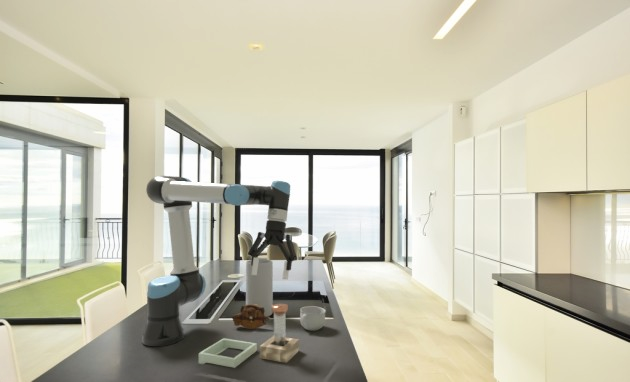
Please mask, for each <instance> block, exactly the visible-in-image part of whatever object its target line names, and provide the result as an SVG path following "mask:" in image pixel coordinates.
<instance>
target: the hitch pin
mask: <svg viewBox="0 0 630 382" xmlns="http://www.w3.org/2000/svg"><path fill="white" fill-rule="evenodd" d="M288 308H289V306H288V304H287V303H274V304H273V305H272V312H273V336H274V345H277V346H284V345H286V338H287V336H286V335H287V334H286V324H287V323H286V313H287V312H288V311H289V309H288Z"/></svg>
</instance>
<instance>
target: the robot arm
mask: <svg viewBox="0 0 630 382" xmlns="http://www.w3.org/2000/svg"><path fill="white" fill-rule="evenodd" d="M145 192H146V195H147V197H148V198H149V199H150V200H151V201H152V202H154V203H156V204H161V205H163V210H164V211H165V212H167V214H168V215H167V217H168V225H169V226H168V227H169V236H170V244H171V245H170V246H171V253H172V254H171V256H172V266H173V267H172V268H173V269H172V270H171V271H170V275H164V276H160V277H156V278H154V279H152V280H151V281H150V282H149V283H148V285H147V292H146V296H147V297H146V298H147V299H146V300H147V304H146V305H147V306H146V308H147V310H146V312H147V313H146V314H147V317H146V318H147V319H146V320H147V321H146V324H145V327H144V330H143V333H142V335H141V336H142V337H141V342H142V344H143V345H145V346H147V347H162V346H168V345H172V344H175V343H178V342H180V341H181V340H183V339H184V337H185V331H184V329H185V328H183V325H182V321H181V319H180V307H182V306H184V305H186V304H188V303H192V302H194V301H196V300H197V299H199V298H200V297H202V295H203V294H204V293H205V291H206V286H207V283H206V282H207V281H206V280H205V277H204V276H203V275H202V273H200V268H199V267H197V266H196V265H195V257H194V256H195V255H194V254H195V253H194V247H193V238H192V237H193V236H192V226H191V218H190V217H191V216H190V215H191V214H190V209H191V208H192V207H193V203H207V204H208V203H209V204H222V205H232V206H239V207H240V206H249V205H250V206H252V205H253V206H255V205H259V206H268V211H267V218H266V219H267V220H266V225H265V232H262V231H258V233H257V236H256V239H255V240H254V241H253V244H252V245H251V247H250V249H249V251H248V253H247V254H248V255H249V256H250V257H251V260H252V262H251V266H252V273H251V275H257V270H258V263H259V259H260V257H259V256H260V255H261V254H262V252H263V251H264V250H265V249H266V248H267V247H268V246H277V247H279V249H280V251H281V252H282V255H283V256H284V258H285V260H286V261H285V260H284V265H283V272H282V280H288V279H289V273H290V271H291V270H292V263H293V262H294V261H297V260H298V257H297V254H296V253H297V252H296V250H295V247H294V244H293V236H292V234H289V233H287V234H285V232H286V228H287V227H286V226H287V223H286V222H287V218H288V211H289V203H290V197H291V185H290V183H289V182H287V181H283V180H274V181H272V183H271V185H270V186H267V185H266V186H264V185H254V184H253V185H250V184H241V183H240V184H238V183H220V182H219V183H216V182H215V183H214V182H199V181H198V182H197V181H191V180H190V179H189V178H187V177H184V176H183V177H182V176H174V175H173V176H171V175H157V176H155V177H152V178H151V179H150V180H149V181H148V183H147V185H146V191H145ZM264 238H265V239H264ZM284 240H285V241H286V242H285V243H286V245H285V243H284ZM286 246H287V247H286Z"/></svg>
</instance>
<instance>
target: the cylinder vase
mask: <svg viewBox="0 0 630 382" xmlns="http://www.w3.org/2000/svg"><path fill="white" fill-rule="evenodd" d="M273 261H274V260H271V259H265V258H263V259H261V258H259V263H258V270H257V275H251V273H252V266H251V262H252V259H249V260H246V261H245V306H246V305H248V304H256V305H259V306H261V307H264V309H265V312H264V315H265V316H266V317H267V316H268V317H270V316H272V314H274V312H272V305H274V304H273V302H274V301H273V299H274V298H273V296H274V295H273V294H274V293H273V291H274V290H273V289H274V288H273V286H274V285H273V284H274V282H273V279H274V277H273V276H274V275H273V272H274V271H273V269H274V268H273Z"/></svg>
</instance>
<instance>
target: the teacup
mask: <svg viewBox="0 0 630 382" xmlns="http://www.w3.org/2000/svg"><path fill="white" fill-rule="evenodd" d="M299 311H300V313H299V314H300V315H299V322H300V325H301V326H302V327H303V328H304V330H307V331H311V332H312V331H313V332H315V331H318V330H321V328H323V327H324V325H325V321H326V312H327V310H326V309H325V308H323V307H321V306H315V305H307V306H303V307H301V308H299Z"/></svg>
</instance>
